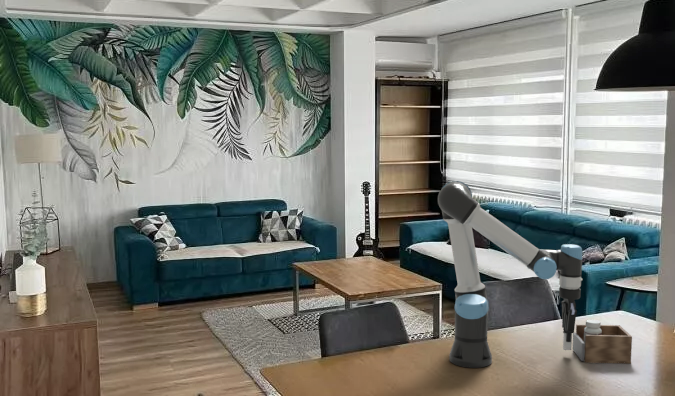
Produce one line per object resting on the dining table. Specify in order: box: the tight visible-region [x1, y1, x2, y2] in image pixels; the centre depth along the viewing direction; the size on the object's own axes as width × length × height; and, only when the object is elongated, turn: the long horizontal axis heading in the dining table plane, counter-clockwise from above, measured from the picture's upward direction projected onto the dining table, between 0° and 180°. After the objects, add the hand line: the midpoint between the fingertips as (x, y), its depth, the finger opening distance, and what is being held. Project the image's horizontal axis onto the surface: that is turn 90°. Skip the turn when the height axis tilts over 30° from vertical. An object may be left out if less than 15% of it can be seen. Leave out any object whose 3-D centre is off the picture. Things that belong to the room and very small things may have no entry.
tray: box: [572, 332, 585, 362], centre depth 264 cm, size 16×13×6 cm
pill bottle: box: [584, 319, 602, 343], centre depth 263 cm, size 6×6×11 cm
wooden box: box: [575, 324, 633, 365], centre depth 263 cm, size 16×14×10 cm
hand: (567, 349), depth 265 cm, fingers closed
